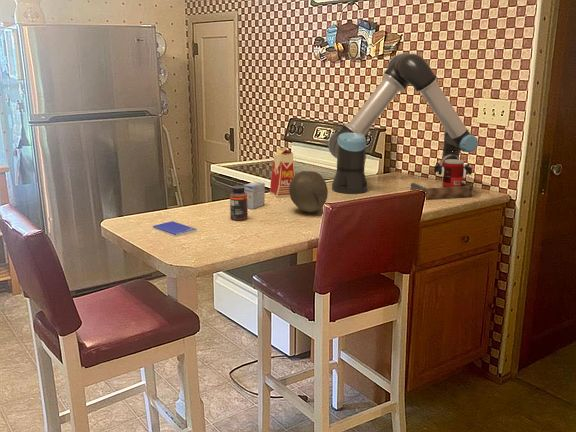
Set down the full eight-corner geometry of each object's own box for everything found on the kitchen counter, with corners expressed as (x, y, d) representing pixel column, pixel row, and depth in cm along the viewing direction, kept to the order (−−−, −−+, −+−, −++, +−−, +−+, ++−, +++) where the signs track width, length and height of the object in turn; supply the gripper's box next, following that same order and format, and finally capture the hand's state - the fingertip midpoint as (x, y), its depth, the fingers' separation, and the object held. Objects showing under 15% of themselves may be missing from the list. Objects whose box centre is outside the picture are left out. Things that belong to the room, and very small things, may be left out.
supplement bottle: (244, 215, 201) (244, 184, 198) (249, 220, 196) (249, 187, 192) (228, 217, 199) (227, 185, 196) (232, 221, 193) (232, 189, 190)
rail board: (423, 200, 228) (424, 189, 226) (410, 193, 238) (411, 183, 237) (471, 197, 234) (472, 186, 233) (456, 191, 244) (457, 180, 243)
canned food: (463, 186, 238) (466, 160, 235) (458, 190, 231) (460, 163, 228) (445, 184, 242) (447, 158, 239) (439, 187, 235) (442, 161, 232)
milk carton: (297, 196, 230) (299, 146, 225) (276, 197, 227) (277, 147, 222) (289, 191, 238) (290, 143, 233) (268, 192, 235) (269, 144, 230)
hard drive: (196, 228, 182) (173, 220, 190) (175, 233, 176) (152, 225, 184) (197, 233, 182) (173, 225, 190) (175, 238, 176) (152, 230, 185)
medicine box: (255, 203, 218) (255, 181, 216) (264, 205, 216) (265, 182, 213) (243, 207, 211) (243, 184, 209) (253, 209, 209) (253, 186, 207)
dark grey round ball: (330, 208, 212) (332, 169, 208) (322, 218, 199) (323, 176, 195) (293, 205, 216) (294, 166, 212) (283, 215, 202) (284, 173, 198)
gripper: (475, 173, 251) (479, 184, 229) (426, 171, 255) (426, 181, 234) (476, 156, 248) (481, 166, 227) (428, 154, 253) (428, 163, 232)
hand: (453, 173), depth 230 cm, fingers closed on canned food, 8 cm apart
